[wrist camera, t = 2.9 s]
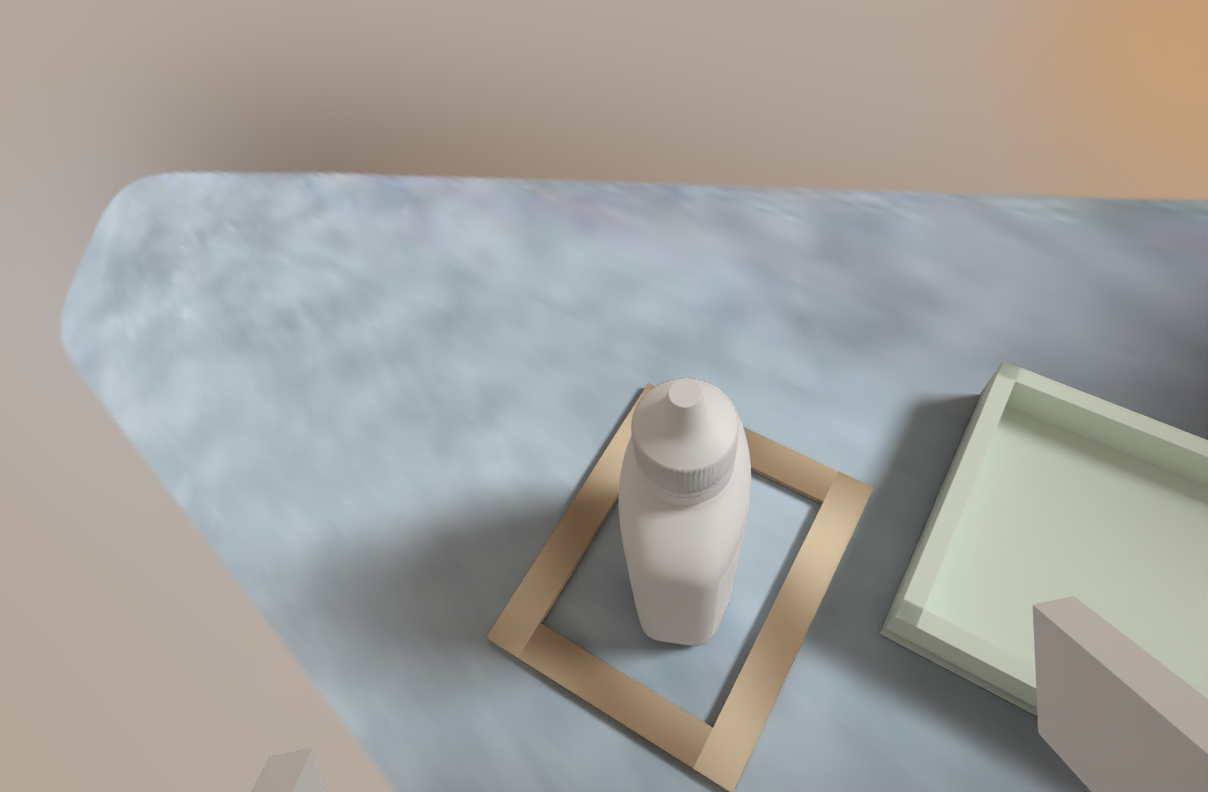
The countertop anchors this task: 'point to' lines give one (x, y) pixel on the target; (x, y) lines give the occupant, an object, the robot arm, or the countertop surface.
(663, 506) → the eye dropper bottle
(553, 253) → the countertop surface
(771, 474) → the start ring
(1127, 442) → the tray
